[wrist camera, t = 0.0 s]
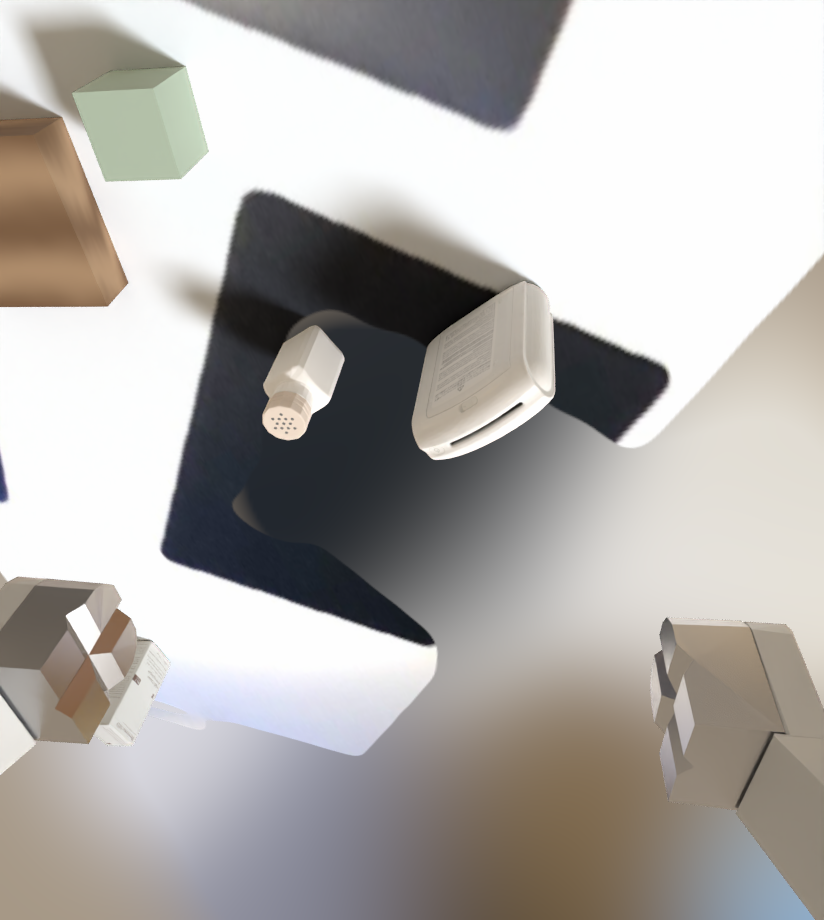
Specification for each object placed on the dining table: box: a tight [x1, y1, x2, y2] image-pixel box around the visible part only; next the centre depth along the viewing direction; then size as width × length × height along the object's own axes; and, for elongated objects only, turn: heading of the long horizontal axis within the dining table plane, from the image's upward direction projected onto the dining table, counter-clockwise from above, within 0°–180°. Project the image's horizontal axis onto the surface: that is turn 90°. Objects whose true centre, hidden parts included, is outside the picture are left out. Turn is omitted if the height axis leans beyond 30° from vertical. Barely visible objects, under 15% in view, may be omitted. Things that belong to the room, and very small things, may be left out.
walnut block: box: [0, 117, 128, 307], centre depth 48 cm, size 12×12×4 cm
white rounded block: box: [412, 281, 555, 460], centre depth 46 cm, size 10×4×12 cm, turn 132°
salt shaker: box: [263, 325, 344, 440], centre depth 51 cm, size 4×4×10 cm
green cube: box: [72, 66, 209, 182], centre depth 41 cm, size 5×5×5 cm
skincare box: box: [94, 641, 170, 746], centre depth 88 cm, size 6×4×12 cm
